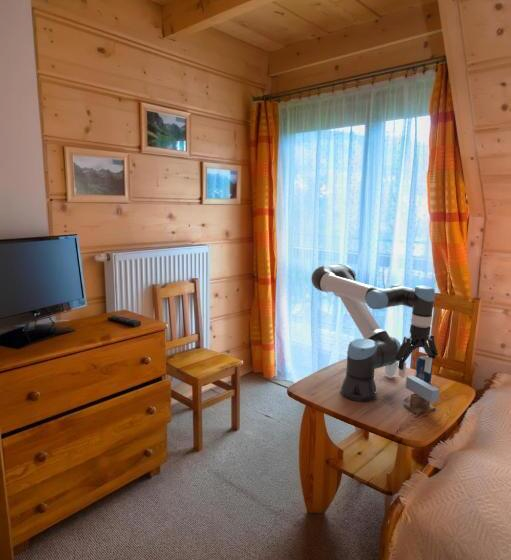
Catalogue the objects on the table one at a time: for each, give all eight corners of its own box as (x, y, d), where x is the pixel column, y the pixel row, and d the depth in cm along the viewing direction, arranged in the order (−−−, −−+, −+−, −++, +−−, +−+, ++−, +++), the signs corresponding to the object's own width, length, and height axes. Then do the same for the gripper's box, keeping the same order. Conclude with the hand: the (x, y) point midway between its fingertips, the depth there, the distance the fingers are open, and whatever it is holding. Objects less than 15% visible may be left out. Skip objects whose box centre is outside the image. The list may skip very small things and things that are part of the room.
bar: (431, 403, 166) (432, 390, 165) (405, 387, 178) (406, 376, 177) (437, 401, 167) (439, 389, 166) (412, 386, 180) (413, 375, 179)
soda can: (428, 379, 202) (430, 355, 200) (432, 385, 195) (435, 360, 193) (412, 378, 203) (415, 354, 200) (416, 384, 196) (419, 359, 193)
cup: (387, 379, 200) (388, 363, 199) (376, 371, 210) (377, 355, 208) (400, 378, 202) (401, 362, 200) (388, 370, 211) (390, 354, 210)
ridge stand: (416, 414, 169) (417, 400, 168) (403, 406, 175) (405, 392, 174) (435, 409, 173) (437, 396, 172) (422, 402, 179) (423, 388, 178)
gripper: (437, 319, 179) (430, 366, 184) (389, 324, 169) (384, 374, 174) (451, 324, 172) (444, 373, 177) (402, 330, 163) (396, 382, 167)
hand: (414, 374), depth 175 cm, fingers open, 13 cm apart
